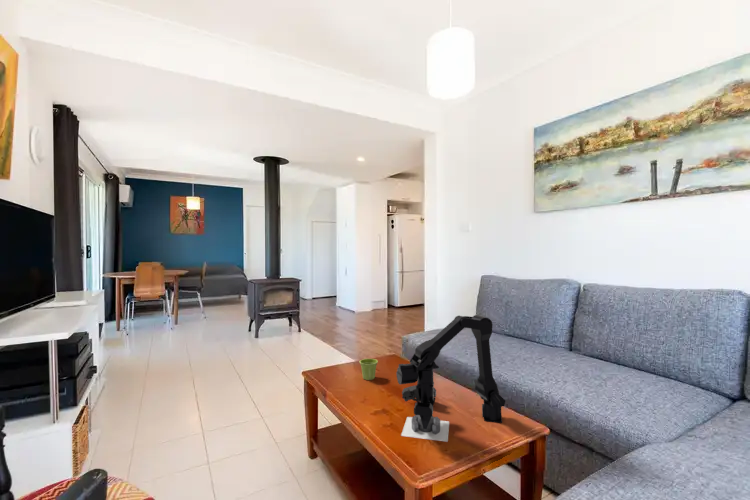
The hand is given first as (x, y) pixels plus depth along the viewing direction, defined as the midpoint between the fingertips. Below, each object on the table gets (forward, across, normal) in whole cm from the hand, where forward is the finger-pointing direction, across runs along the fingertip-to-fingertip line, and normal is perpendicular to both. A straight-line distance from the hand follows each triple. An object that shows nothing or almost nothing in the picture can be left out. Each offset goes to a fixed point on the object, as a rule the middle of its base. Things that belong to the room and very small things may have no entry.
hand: (426, 423), depth 123 cm
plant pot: (+2, -44, -34) cm, 56 cm away
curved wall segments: (+2, 0, 0) cm, 2 cm away
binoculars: (+2, -20, -4) cm, 21 cm away
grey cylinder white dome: (+2, 0, 0) cm, 2 cm away
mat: (+2, 0, 0) cm, 2 cm away
